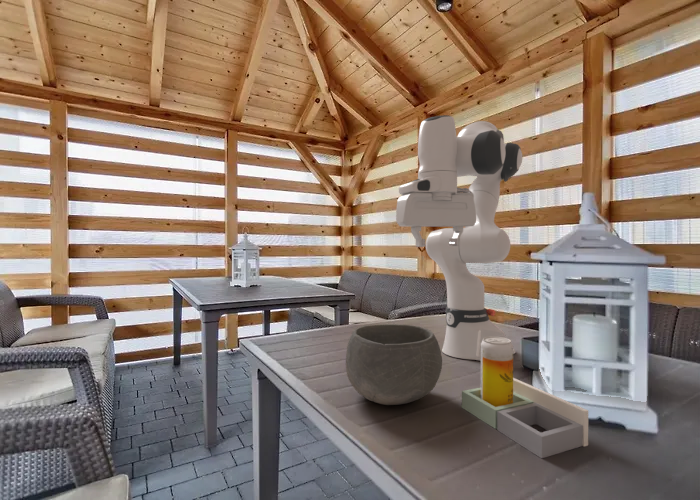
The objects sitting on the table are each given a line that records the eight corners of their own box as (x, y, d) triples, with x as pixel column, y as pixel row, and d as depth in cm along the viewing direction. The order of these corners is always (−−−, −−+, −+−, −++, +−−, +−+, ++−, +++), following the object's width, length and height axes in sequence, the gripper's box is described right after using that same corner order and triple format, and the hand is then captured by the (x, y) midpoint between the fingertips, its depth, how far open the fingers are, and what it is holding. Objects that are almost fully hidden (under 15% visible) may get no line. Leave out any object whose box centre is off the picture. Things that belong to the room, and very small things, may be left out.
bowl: (441, 384, 89) (441, 323, 89) (443, 427, 69) (443, 348, 68) (356, 378, 94) (356, 319, 93) (334, 416, 73) (334, 341, 73)
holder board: (499, 398, 81) (499, 371, 81) (588, 445, 62) (588, 410, 62) (461, 407, 77) (461, 378, 77) (542, 459, 58) (543, 422, 58)
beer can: (516, 422, 71) (516, 344, 70) (483, 419, 72) (483, 343, 71) (509, 408, 77) (509, 336, 76) (478, 405, 78) (478, 335, 77)
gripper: (464, 190, 92) (464, 245, 92) (392, 186, 84) (393, 246, 85) (482, 186, 86) (482, 245, 87) (406, 182, 78) (407, 247, 79)
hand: (437, 246), depth 85 cm, fingers open, 8 cm apart
